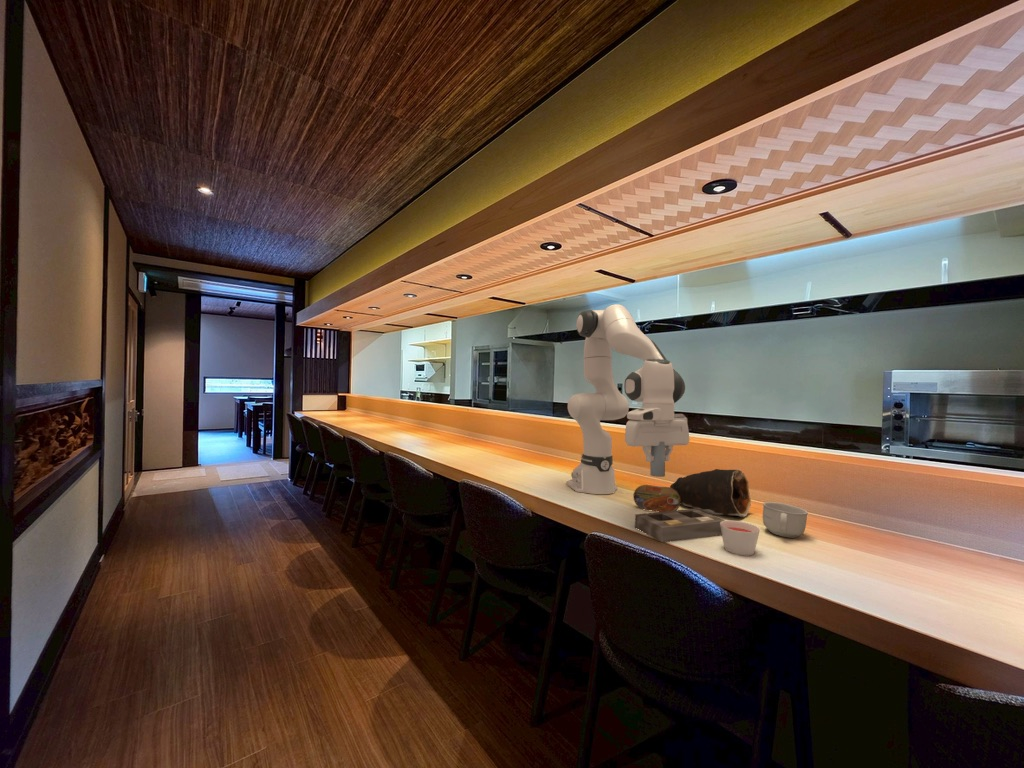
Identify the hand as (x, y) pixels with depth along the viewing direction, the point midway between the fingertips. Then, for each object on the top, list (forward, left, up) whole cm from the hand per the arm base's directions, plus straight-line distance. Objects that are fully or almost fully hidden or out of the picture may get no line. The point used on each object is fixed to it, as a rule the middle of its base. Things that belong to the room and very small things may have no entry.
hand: (657, 461), depth 122 cm
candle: (+18, +11, -20) cm, 30 cm away
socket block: (+2, +6, -20) cm, 21 cm away
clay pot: (-14, +31, -20) cm, 40 cm away
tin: (-17, +13, -20) cm, 29 cm away
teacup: (+13, +33, -20) cm, 41 cm away
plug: (0, 0, -4) cm, 4 cm away
